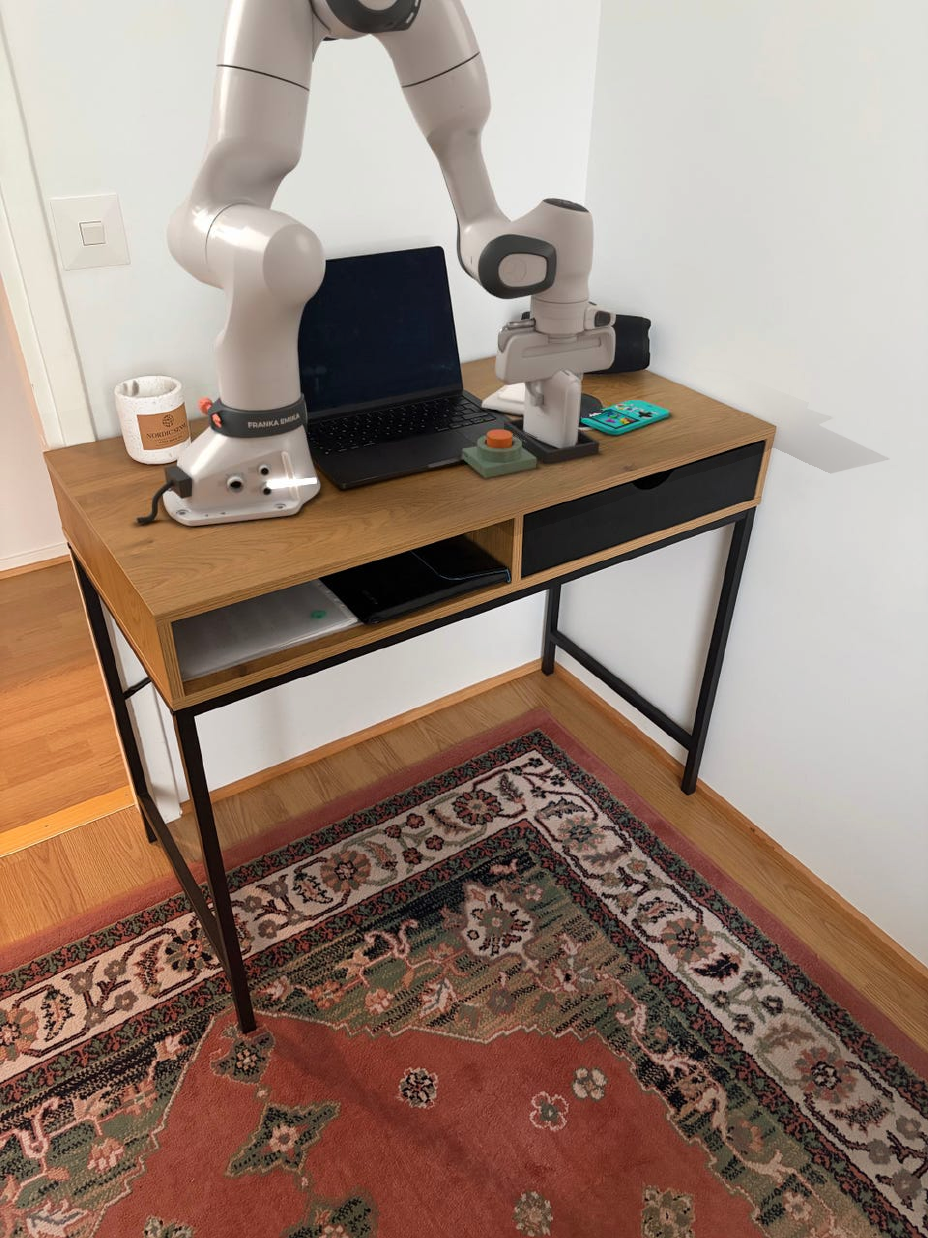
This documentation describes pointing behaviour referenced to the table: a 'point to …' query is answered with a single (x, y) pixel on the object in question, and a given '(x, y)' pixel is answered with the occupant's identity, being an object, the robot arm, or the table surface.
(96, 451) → the table surface
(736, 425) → the table surface
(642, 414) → the handheld gaming console
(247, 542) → the table surface
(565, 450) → the tray
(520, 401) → the light switch
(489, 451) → the button housing
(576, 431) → the photo printer
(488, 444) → the button
